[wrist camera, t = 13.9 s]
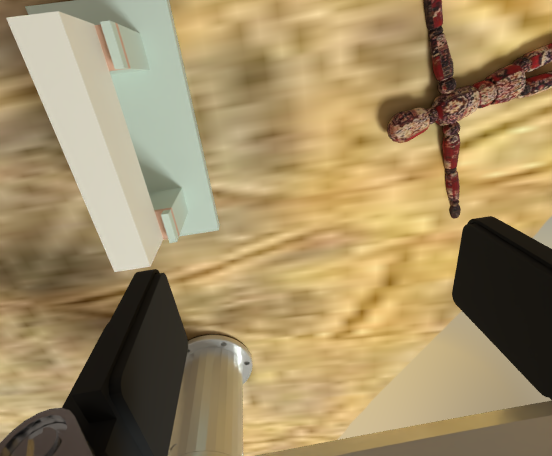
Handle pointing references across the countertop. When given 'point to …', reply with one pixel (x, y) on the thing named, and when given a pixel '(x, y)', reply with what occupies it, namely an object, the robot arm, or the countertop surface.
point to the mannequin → (464, 97)
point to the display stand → (153, 106)
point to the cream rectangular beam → (91, 132)
